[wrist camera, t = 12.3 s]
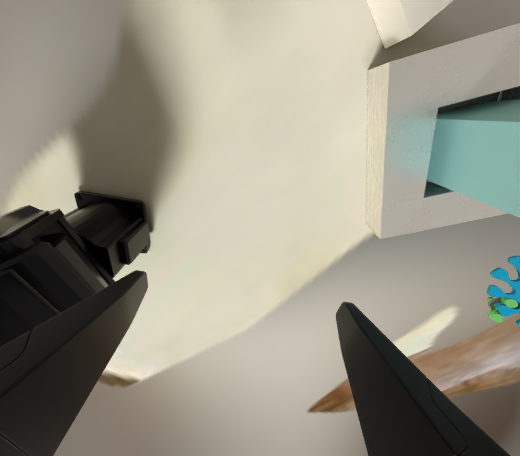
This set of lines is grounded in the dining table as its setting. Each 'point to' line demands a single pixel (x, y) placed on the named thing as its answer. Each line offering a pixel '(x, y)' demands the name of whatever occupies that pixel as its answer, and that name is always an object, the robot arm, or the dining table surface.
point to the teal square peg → (479, 153)
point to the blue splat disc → (505, 294)
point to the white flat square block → (402, 17)
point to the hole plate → (429, 127)
